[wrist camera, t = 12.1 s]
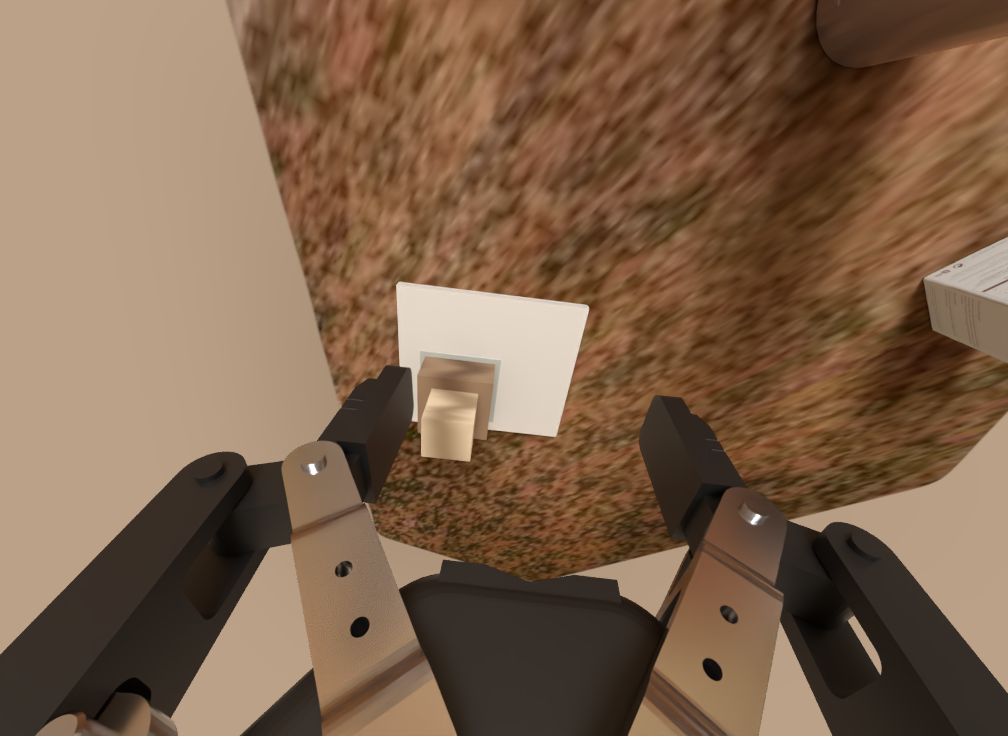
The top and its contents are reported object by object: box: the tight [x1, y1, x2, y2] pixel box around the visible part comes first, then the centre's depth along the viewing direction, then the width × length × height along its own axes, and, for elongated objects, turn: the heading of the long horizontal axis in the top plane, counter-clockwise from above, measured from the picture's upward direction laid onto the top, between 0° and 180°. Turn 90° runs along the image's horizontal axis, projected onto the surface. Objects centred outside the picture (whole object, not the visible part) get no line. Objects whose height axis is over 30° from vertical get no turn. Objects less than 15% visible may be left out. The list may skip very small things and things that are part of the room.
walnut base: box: [417, 356, 495, 440], centre depth 42 cm, size 8×8×4 cm
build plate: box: [396, 282, 589, 437], centre depth 42 cm, size 20×18×1 cm
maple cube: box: [421, 388, 478, 461], centre depth 38 cm, size 5×5×5 cm
